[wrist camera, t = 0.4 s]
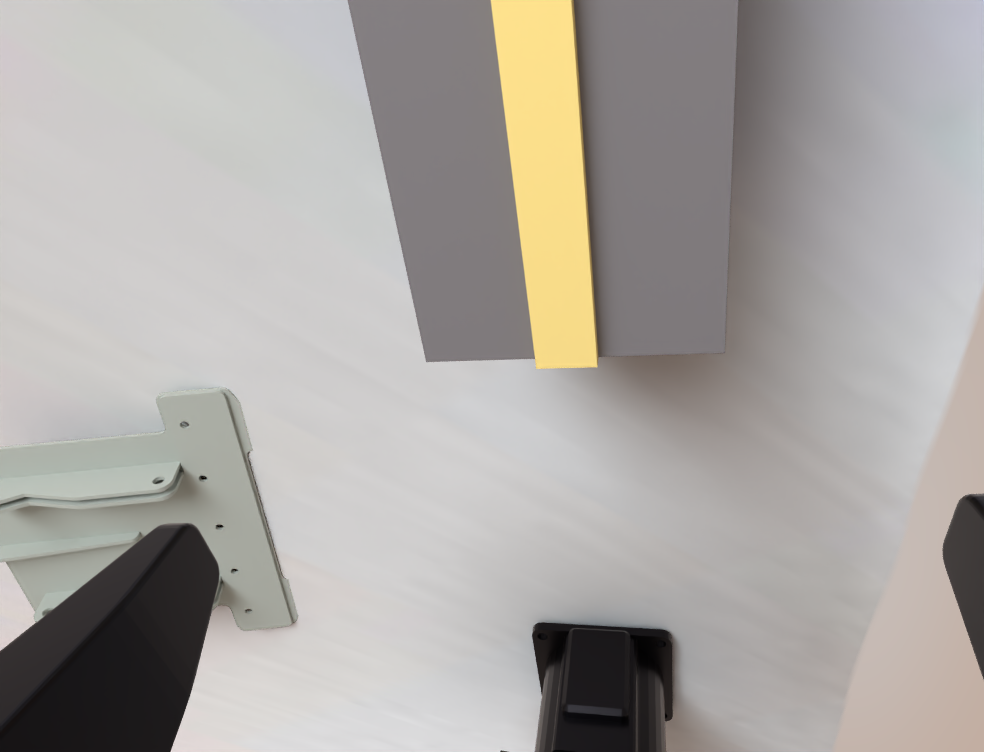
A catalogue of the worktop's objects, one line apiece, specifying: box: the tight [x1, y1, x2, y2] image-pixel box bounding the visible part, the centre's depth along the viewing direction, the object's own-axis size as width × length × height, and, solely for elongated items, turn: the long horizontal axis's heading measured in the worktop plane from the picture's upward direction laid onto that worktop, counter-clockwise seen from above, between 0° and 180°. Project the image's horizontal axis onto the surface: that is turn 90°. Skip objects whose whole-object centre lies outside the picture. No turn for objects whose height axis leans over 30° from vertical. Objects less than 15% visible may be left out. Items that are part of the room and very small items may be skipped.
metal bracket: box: [0, 387, 298, 631], centre depth 33 cm, size 14×6×15 cm
